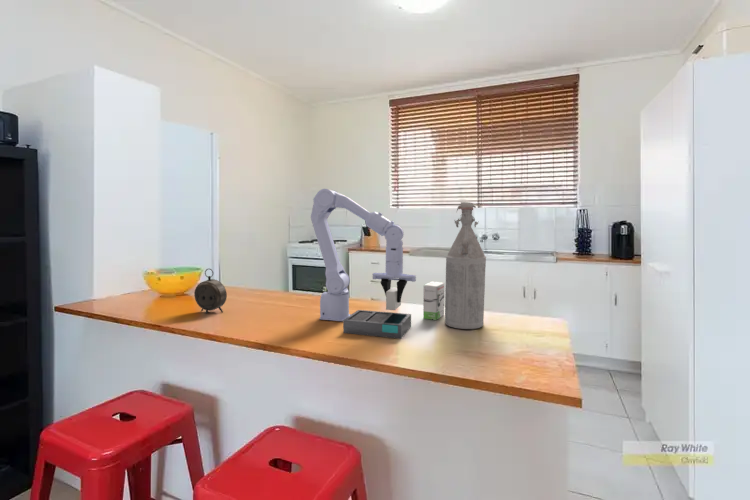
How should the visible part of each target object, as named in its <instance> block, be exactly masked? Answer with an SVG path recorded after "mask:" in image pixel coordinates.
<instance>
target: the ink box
mask: <svg viewBox="0 0 750 500" xmlns="http://www.w3.org/2000/svg"><path fill="white" fill-rule="evenodd" d="M445 285H446V282H441V281H432V280H431V281H430V282H427V283H425V284H424V285H423V303H422V304H423V309H422V310H423V316H422V317H423V319H424V320H432V319H433V320H434V321H437V320H438V319H440V318H441V317H443V316H445ZM433 320H432V321H433Z"/></svg>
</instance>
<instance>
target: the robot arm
mask: <svg viewBox="0 0 750 500" xmlns="http://www.w3.org/2000/svg"><path fill="white" fill-rule="evenodd" d="M312 200H313V204H312V210H311V213H310V220H311V223H312V227H313V230H314V233H315V237H316V239H317V243H318V246H319V249H320V253H321V256H322V260H323V262H324V266H325V273H324V274H325V278H326V279H325V287H326V290H327V291H324V292H322V294H321V296H320V299H319V309H320V310H319V314H320V316H319V320H323V321H334V322H335V321H336V322H343V320H344V319H346V318H347V317H349V316H350V315H351V314H352V313H350V293H349V289H348V287H349V285H350V284H351V279H350V276H349V274H348V273H347V272H346V270H345V267H344V266H343V264H342V263H341V262H340V257H339V254H338V251H337V249H336V244H335V242H334V238H333V235H332V232H331V228H330V224H329V222H328V218H329V216H330V215H331V213H332V212H333V211H334V210H336V209H337V208H339V209H340V208H341V209H345V210H347V211H349V212H350V213H352V214H354V215H356V216H357V217H359V218H360V219H362V220H364V222H365V225H366V227H367V228H369V229H370V230H372V231H373V232H375V233H377V234H378V235H379V236H381V237H383V236H384V239H385V240H386V246H385V272H373V273H372V280H381V281H380V285H381V286H382V287H381V288H382V290H383V291H384V296H386V291H388V290H389V289H391V288H392V281H397V282H396V287H397V302H400V301H401V302H402V296H403V292H404V290H405V288H406V285H407V284H408V282H412V283H415V282H416V281H417V275H416V274H407V273H403V269H404V267H403V266H404V248H403V244H404V243H403V238H404V235H405V234H404V229H403V228H402V227H401V226H400V225H399V224H396V223H395V221H394V220H390V219H388V218H386V217H385V216H383V213H382V212H381V211H379V212H377V211H372V212H370V211H369V210H367V209H366V208H364V207H363V206H362V205H360V204H359V203H357V202H356V201H354V200H353V199H352V198H350V197H348V196H346V195H344V194H343V193H341V192H338V191H337V190H333V189H329V188H322V189H320V190H318V191H317V193H316V194H315V195H314V197H313V199H312Z"/></svg>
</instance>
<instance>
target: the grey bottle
mask: <svg viewBox="0 0 750 500" xmlns="http://www.w3.org/2000/svg"><path fill="white" fill-rule="evenodd" d="M474 209H477V206H476V205H474V202H470V201H469V202H468V201H460V205H458V206H457V208H456V212H458V211H459V210H461V215H460V217H458V218H457V220H454V224H455V226H456V228H459V227H460V226H459V225H460V223H459V222H461V228H460V229H459V232H458V233H457V234H456V236H455V239H454V242H453V243H452V245H451V247H450V249H449V251H448V253H447V255H446V256H445V289H444V323H445V324H446V325H447V326H448V327H450V328H455V329H462V330H475V329H479V328H483V326H484V318H485V317H484V316H485V315H484V313H485V294H486V293H485V288H486V263H487V256H486V255H485V253H484V251H483V249H482V246H481V244H480V242H479V240H478V238H477V236H476V234H475V232H474V229H473V227H472V225H473V223H474V228H476V227H477V225H478V224H479V221H476V219H475V217H474V216H473V211H474Z"/></svg>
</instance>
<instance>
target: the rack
mask: <svg viewBox="0 0 750 500" xmlns="http://www.w3.org/2000/svg"><path fill="white" fill-rule="evenodd" d="M350 314H351V315H350V316H349V317H347V318H346V319H344V320H343V321H342V323H343V324H342V325H343V326H342V328H343V329H342V330H343V331H342V333H343V334H351V335H360V336H370V337H379V338H380V337H381V338H389V339H390V338H391V339H397V340H398V339H400V340H401V339H403V337H404V336H405V335H406V334H407V332H408V331H409V330H410V328H411V327H412V314H411V313H403V312H402V313H401V312H388V311H387V312H386V311H377V310H366V309H357V310H356V311H354V312H353V313H350Z"/></svg>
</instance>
